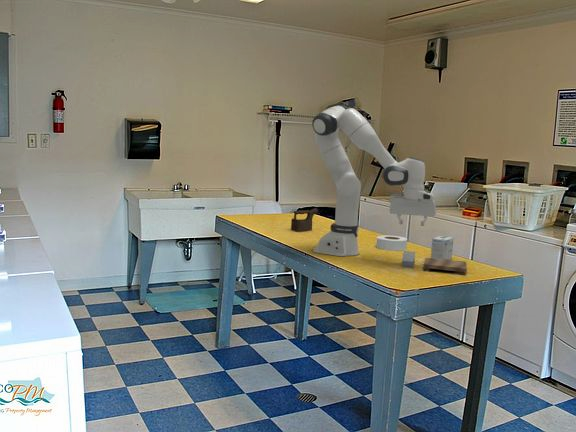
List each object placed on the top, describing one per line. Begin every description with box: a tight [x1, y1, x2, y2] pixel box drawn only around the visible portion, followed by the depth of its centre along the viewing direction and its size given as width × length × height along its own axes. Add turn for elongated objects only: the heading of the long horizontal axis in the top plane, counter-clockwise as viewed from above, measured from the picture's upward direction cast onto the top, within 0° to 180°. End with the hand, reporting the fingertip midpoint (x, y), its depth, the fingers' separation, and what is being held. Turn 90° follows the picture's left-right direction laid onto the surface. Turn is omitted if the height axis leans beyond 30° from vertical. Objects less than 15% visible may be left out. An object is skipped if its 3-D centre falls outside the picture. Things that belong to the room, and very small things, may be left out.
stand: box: [423, 257, 468, 276], centre depth 238 cm, size 18×14×3 cm
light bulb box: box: [430, 235, 455, 260], centre depth 258 cm, size 11×7×11 cm, turn 141°
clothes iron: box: [290, 207, 319, 233], centre depth 322 cm, size 8×16×13 cm, turn 121°
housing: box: [401, 250, 416, 269], centre depth 242 cm, size 5×8×6 cm, turn 163°
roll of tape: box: [376, 235, 408, 252], centre depth 281 cm, size 16×16×6 cm
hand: (411, 224), depth 240 cm, fingers open, 8 cm apart
